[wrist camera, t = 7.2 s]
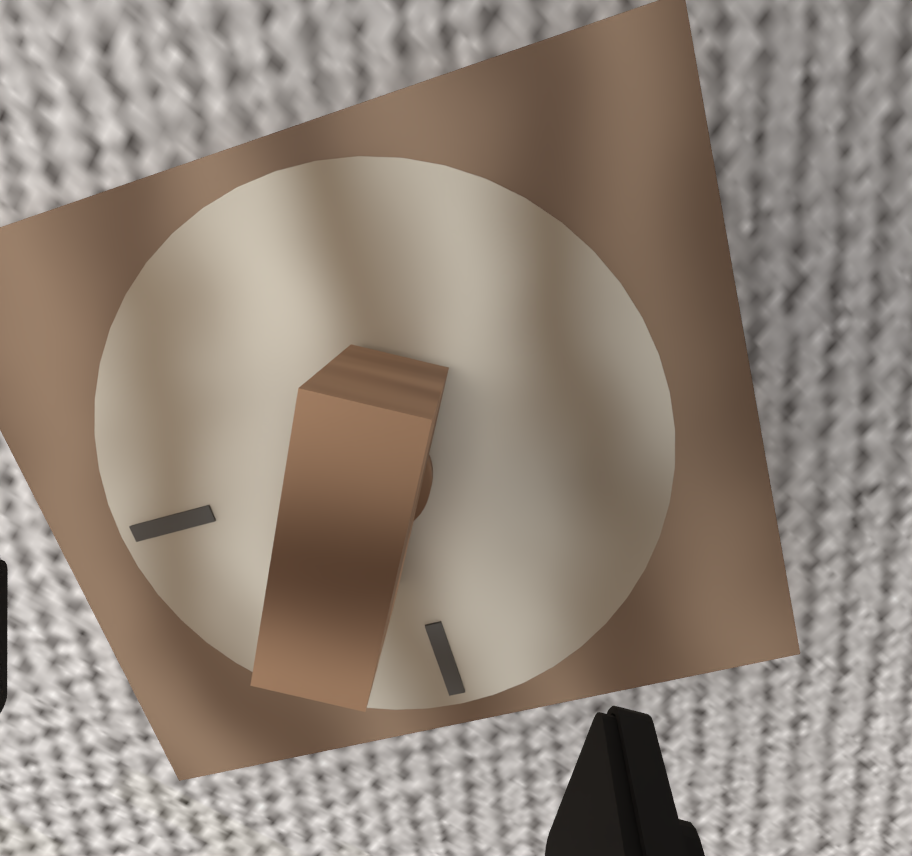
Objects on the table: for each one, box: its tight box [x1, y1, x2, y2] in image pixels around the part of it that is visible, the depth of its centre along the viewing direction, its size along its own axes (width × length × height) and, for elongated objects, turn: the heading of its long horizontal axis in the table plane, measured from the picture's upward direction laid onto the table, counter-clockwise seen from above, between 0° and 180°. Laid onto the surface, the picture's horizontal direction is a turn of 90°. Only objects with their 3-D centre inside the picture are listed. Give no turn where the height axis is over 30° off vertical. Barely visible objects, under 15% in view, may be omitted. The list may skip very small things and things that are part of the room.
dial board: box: [0, 0, 800, 781], centre depth 22 cm, size 24×21×2 cm
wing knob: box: [250, 344, 449, 712], centre depth 19 cm, size 12×4×6 cm, turn 167°
